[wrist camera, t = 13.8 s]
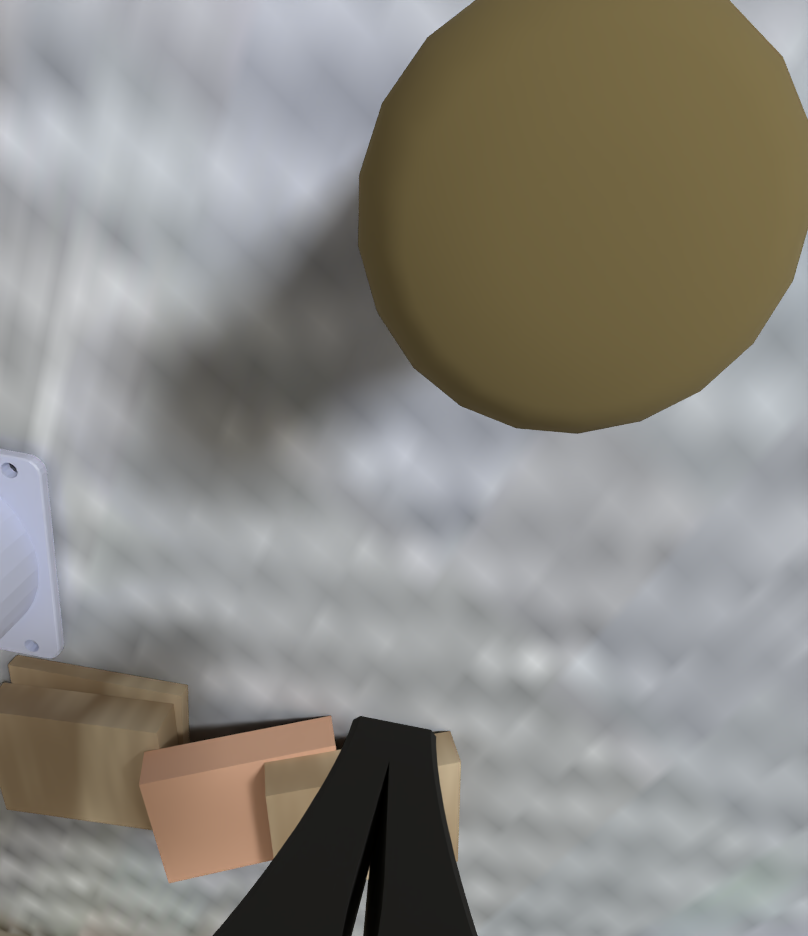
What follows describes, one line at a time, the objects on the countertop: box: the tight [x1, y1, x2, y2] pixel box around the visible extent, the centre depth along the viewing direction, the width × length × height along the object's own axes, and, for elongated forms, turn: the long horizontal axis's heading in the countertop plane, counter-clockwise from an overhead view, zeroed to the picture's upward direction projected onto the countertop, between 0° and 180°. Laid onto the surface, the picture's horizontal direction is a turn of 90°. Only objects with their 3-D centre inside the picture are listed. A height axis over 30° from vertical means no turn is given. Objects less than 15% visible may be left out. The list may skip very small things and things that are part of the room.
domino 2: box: [139, 716, 336, 883], centre depth 25 cm, size 1×5×6 cm
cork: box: [358, 0, 808, 434], centre depth 12 cm, size 6×6×11 cm
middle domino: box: [0, 683, 179, 830], centre depth 26 cm, size 1×5×6 cm
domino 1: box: [8, 655, 189, 745], centre depth 27 cm, size 1×5×6 cm
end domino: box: [264, 731, 461, 880], centre depth 25 cm, size 1×5×6 cm
